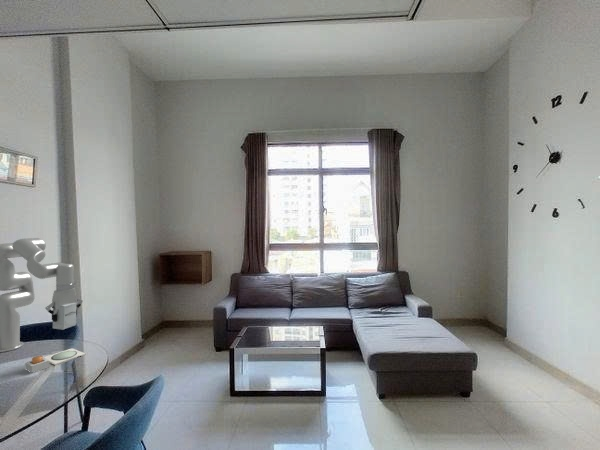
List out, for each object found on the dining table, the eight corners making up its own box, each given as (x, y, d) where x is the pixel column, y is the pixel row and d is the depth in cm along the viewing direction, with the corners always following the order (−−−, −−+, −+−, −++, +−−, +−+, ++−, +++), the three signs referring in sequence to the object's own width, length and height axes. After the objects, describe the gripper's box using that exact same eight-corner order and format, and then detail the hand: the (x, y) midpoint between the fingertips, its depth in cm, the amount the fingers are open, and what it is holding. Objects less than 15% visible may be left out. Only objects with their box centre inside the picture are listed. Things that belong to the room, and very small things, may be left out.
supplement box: (63, 329, 160) (63, 306, 160) (52, 328, 161) (52, 304, 161) (76, 325, 167) (76, 302, 167) (65, 324, 169) (65, 301, 169)
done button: (30, 364, 151) (30, 358, 151) (40, 360, 154) (40, 355, 154) (34, 366, 149) (34, 360, 149) (44, 362, 152) (44, 356, 152)
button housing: (25, 369, 150) (25, 362, 150) (42, 363, 156) (42, 357, 156) (31, 373, 147) (31, 366, 147) (49, 367, 153) (49, 360, 153)
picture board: (42, 359, 162) (42, 357, 162) (72, 349, 174) (72, 347, 174) (55, 365, 155) (55, 363, 155) (85, 355, 167) (85, 353, 167)
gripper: (79, 283, 173) (78, 313, 174) (42, 289, 158) (41, 322, 158) (86, 285, 170) (86, 316, 170) (49, 291, 155) (48, 325, 155)
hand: (64, 319), depth 164 cm, fingers closed on supplement box, 8 cm apart
